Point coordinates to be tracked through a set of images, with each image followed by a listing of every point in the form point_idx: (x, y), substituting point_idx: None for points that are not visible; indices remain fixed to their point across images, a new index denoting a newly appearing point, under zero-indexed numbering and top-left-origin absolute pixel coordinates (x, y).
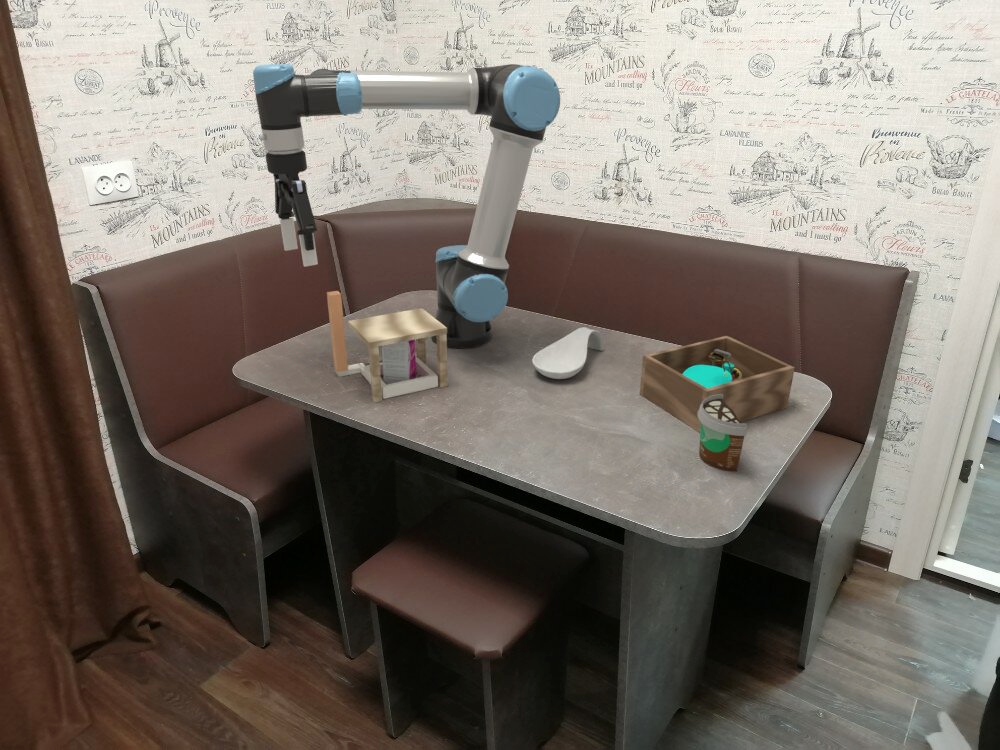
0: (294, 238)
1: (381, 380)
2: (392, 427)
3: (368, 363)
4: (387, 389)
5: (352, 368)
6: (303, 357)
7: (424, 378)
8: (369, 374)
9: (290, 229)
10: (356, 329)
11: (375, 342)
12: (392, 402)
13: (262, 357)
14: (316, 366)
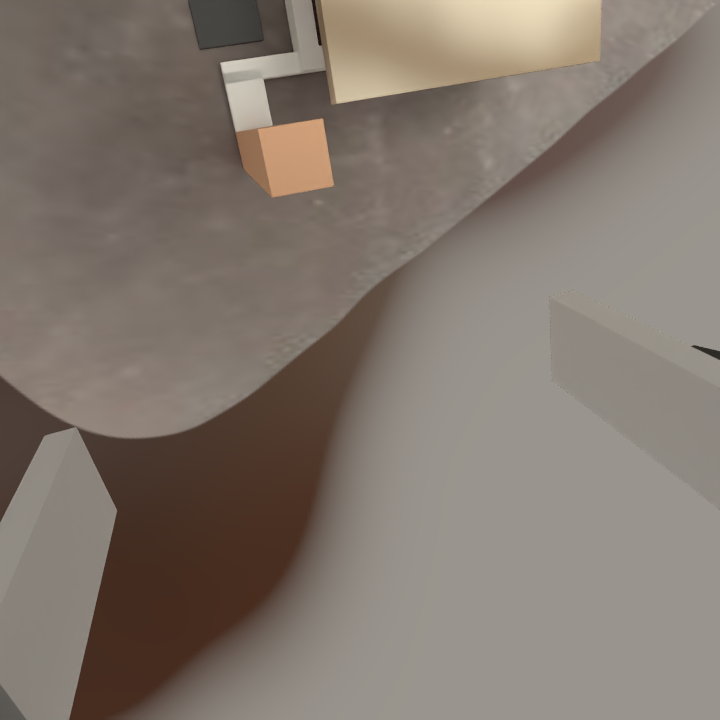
0: (61, 497)
1: None
2: (621, 65)
3: (200, 34)
4: None
5: (263, 108)
6: (78, 261)
7: None
8: None
9: (46, 587)
10: (449, 84)
11: (598, 32)
12: None
13: (55, 388)
14: (169, 223)
